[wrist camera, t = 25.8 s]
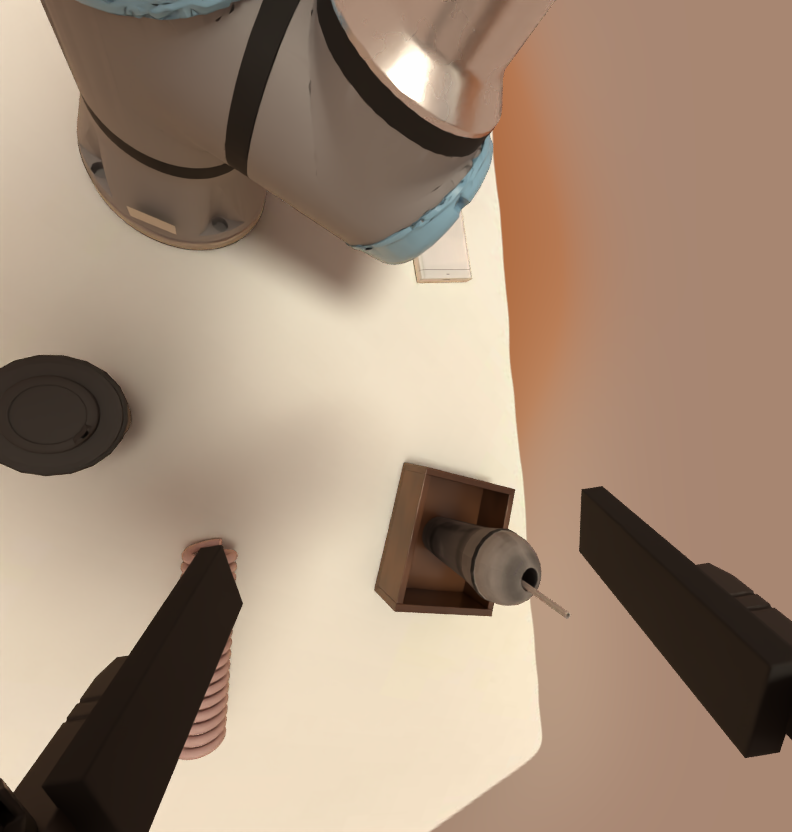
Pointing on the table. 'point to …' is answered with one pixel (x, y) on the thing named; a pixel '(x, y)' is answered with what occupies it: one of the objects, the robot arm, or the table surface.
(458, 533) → the beverage cup
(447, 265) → the hard drive
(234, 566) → the coil
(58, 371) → the coffee cup
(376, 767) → the table surface
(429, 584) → the box
